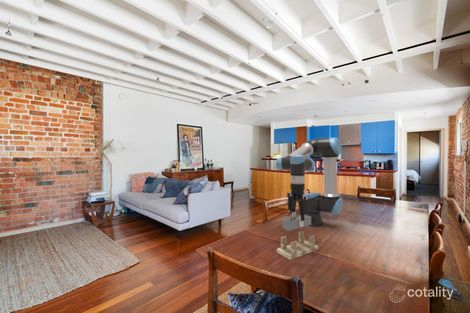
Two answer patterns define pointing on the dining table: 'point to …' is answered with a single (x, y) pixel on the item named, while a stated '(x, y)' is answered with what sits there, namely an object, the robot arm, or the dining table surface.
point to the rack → (297, 246)
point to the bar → (295, 222)
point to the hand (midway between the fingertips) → (297, 225)
